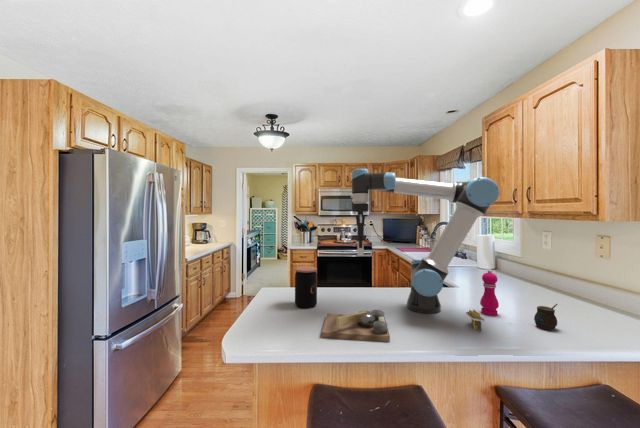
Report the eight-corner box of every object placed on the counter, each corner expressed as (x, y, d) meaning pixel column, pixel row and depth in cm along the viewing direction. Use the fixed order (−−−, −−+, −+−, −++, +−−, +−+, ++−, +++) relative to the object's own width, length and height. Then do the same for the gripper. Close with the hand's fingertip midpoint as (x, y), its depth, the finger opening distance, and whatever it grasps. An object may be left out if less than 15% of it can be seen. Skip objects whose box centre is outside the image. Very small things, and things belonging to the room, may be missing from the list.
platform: (468, 336, 106) (468, 319, 106) (450, 318, 124) (450, 303, 124) (502, 338, 105) (502, 320, 105) (479, 320, 123) (479, 304, 123)
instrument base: (384, 321, 119) (384, 309, 119) (389, 342, 100) (389, 327, 100) (327, 318, 122) (327, 306, 122) (321, 337, 103) (321, 323, 103)
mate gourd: (529, 324, 117) (529, 299, 117) (548, 324, 117) (548, 300, 117) (542, 331, 110) (543, 305, 110) (562, 332, 110) (563, 306, 110)
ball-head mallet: (367, 319, 116) (367, 307, 116) (378, 325, 110) (379, 312, 109) (332, 327, 107) (332, 314, 107) (343, 334, 101) (343, 320, 101)
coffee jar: (314, 309, 133) (314, 271, 133) (292, 308, 135) (292, 270, 135) (318, 302, 143) (319, 266, 143) (298, 301, 145) (298, 265, 145)
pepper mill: (478, 313, 129) (478, 269, 129) (482, 309, 135) (482, 267, 134) (496, 317, 124) (497, 271, 124) (500, 313, 130) (500, 269, 130)
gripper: (351, 203, 137) (352, 252, 138) (352, 202, 124) (352, 257, 125) (367, 203, 137) (367, 252, 137) (369, 202, 124) (369, 257, 124)
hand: (360, 254), depth 131 cm, fingers closed
